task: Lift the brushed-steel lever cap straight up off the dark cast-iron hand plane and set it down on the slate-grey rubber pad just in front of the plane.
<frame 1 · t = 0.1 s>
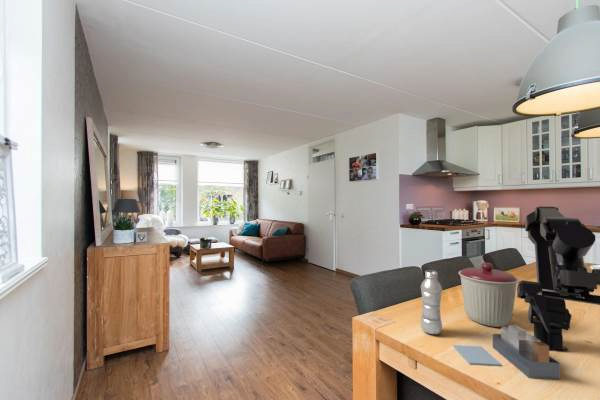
hand: (578, 338, 56), 15 cm above the table, tool tilted 30°, fingers open, 9 cm apart
rubber pad: (475, 355, 76), on the table
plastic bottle: (431, 332, 89), on the table
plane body: (522, 361, 73), on the table
canister: (487, 321, 98), on the table
lever cap: (519, 344, 74), point 4 cm above the table, touching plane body
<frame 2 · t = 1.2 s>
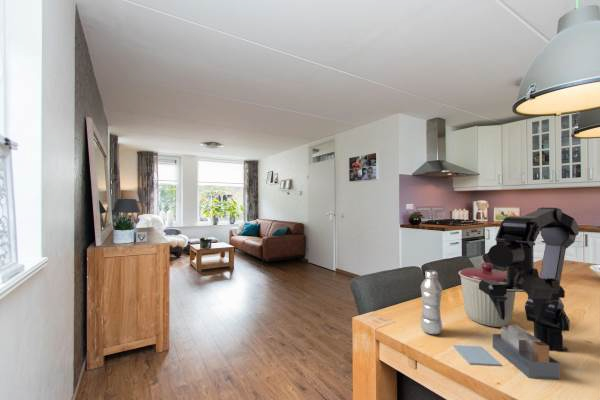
hand: (520, 319, 74), 11 cm above the table, tool pointing down, fingers open, 9 cm apart
nothing on the table moved.
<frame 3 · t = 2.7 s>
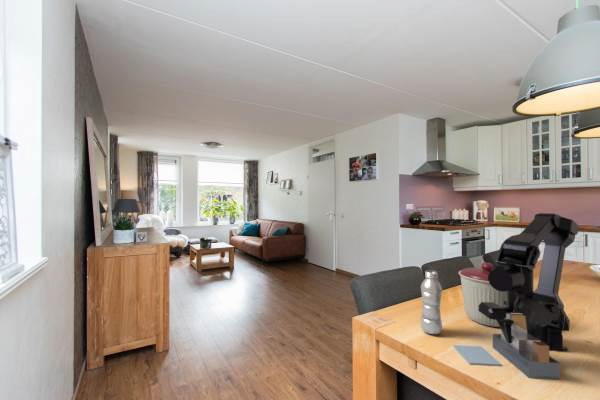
hand: (519, 343, 74), 5 cm above the table, tool pointing down, fingers closed on lever cap, 5 cm apart
lever cap: (519, 344, 74), point 4 cm above the table, touching gripper, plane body
everything else where it was.
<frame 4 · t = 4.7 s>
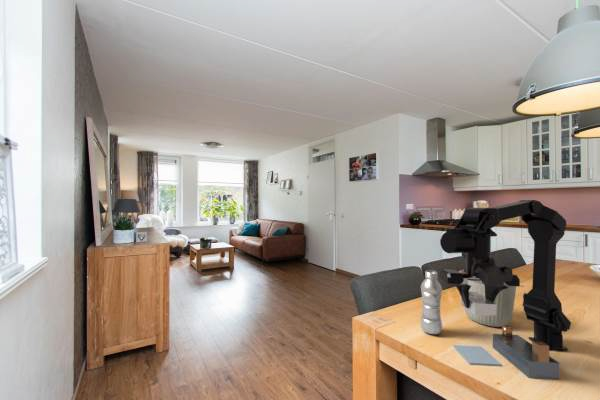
hand: (477, 308, 76), 13 cm above the table, tool pointing down, fingers closed on lever cap, 5 cm apart
lever cap: (477, 310, 76), point 13 cm above the table, touching gripper
everything else where it was.
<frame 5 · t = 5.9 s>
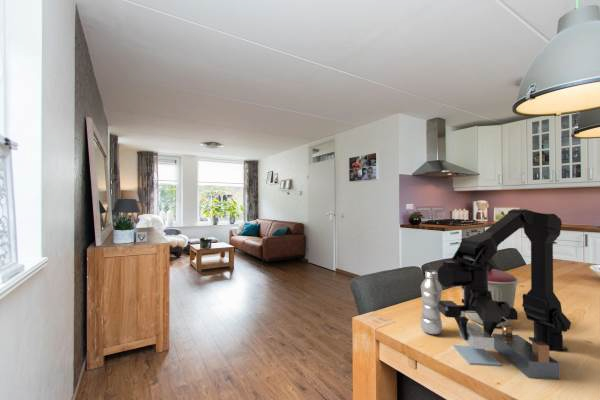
hand: (475, 340, 76), 4 cm above the table, tool pointing down, fingers closed on lever cap, 5 cm apart
lever cap: (476, 342, 76), point 4 cm above the table, touching gripper
everything else where it was.
when the fingers open (2 cm above the table, at t = 6.7 s): lever cap drops 1 cm, resting on rubber pad.
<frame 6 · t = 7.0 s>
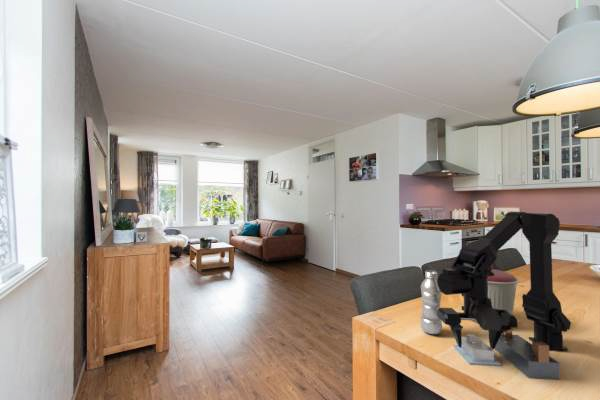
hand: (475, 347, 76), 2 cm above the table, tool pointing down, fingers open, 8 cm apart
lever cap: (475, 354, 76), resting on rubber pad
everything else where it was.
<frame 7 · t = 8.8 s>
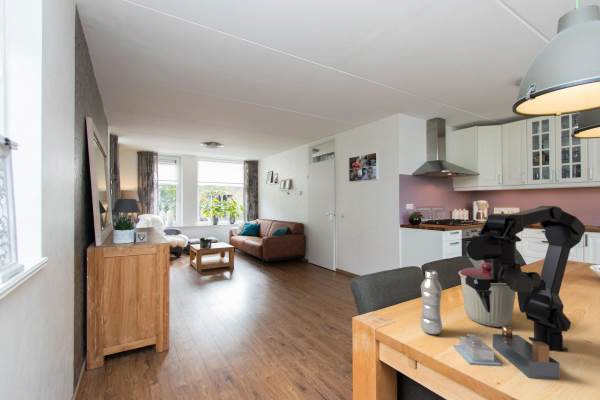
hand: (505, 312, 77), 12 cm above the table, tool pointing down, fingers open, 9 cm apart
nothing on the table moved.
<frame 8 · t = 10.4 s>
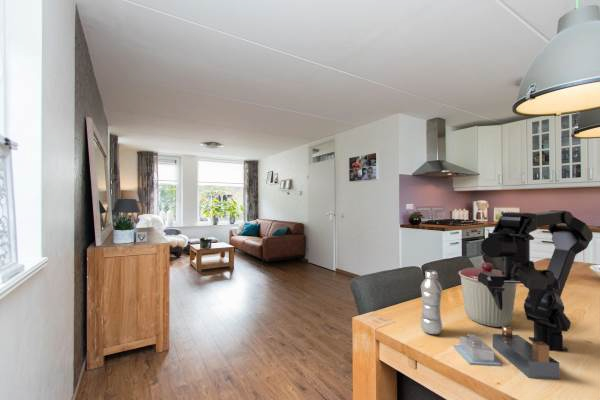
hand: (517, 310, 78), 12 cm above the table, tool pointing down, fingers open, 9 cm apart
nothing on the table moved.
at the end: lever cap 0.1 cm from the target spot, resting on rubber pad; lever cap tilted 0°; the gripper is holding nothing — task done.
